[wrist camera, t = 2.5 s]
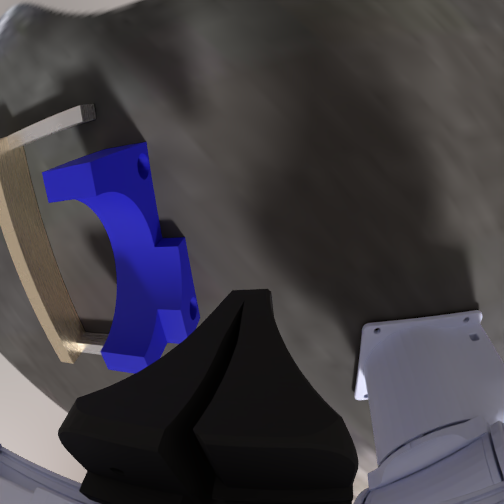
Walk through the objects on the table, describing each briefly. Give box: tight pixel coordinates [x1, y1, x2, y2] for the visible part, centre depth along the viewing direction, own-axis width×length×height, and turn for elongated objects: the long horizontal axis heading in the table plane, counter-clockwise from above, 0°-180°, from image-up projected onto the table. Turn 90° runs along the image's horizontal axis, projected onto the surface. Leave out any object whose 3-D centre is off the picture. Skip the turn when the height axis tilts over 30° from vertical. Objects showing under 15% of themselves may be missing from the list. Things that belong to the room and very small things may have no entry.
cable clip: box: [42, 142, 200, 374], centre depth 17 cm, size 12×4×6 cm, turn 5°
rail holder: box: [0, 104, 109, 364], centre depth 19 cm, size 8×18×3 cm, turn 7°
